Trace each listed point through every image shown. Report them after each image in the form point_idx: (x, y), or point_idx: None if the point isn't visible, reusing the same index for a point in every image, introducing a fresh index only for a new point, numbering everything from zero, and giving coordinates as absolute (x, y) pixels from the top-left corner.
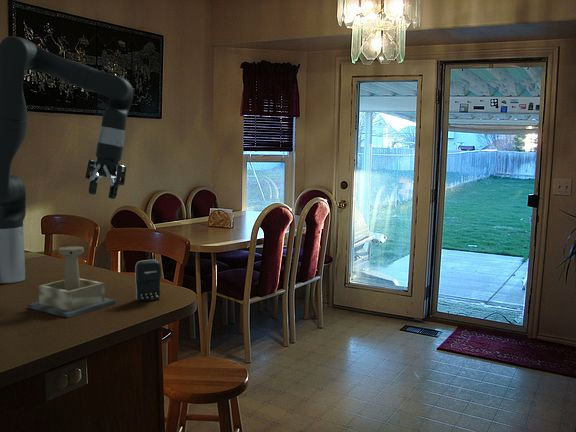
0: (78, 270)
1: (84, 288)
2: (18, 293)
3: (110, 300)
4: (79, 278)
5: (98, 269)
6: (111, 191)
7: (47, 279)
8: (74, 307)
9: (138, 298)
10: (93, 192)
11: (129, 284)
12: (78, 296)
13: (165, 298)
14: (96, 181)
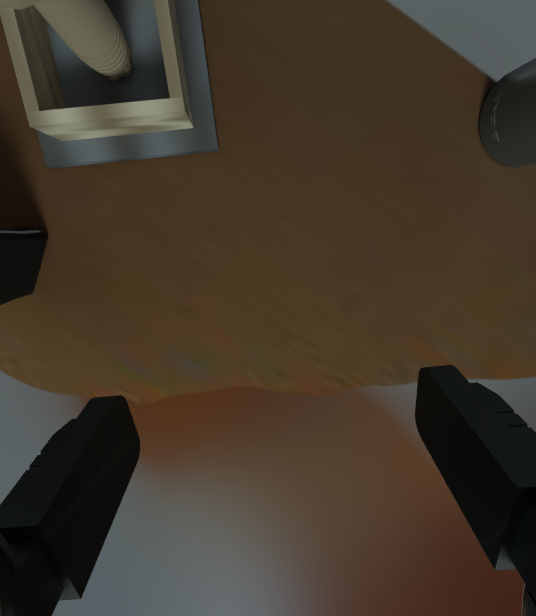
0: (47, 21)
1: (2, 22)
2: (364, 40)
3: (52, 154)
4: (67, 45)
5: None
6: (56, 460)
7: (439, 205)
8: None
9: (20, 227)
10: (425, 412)
11: (212, 328)
12: None
13: None
14: (528, 583)
